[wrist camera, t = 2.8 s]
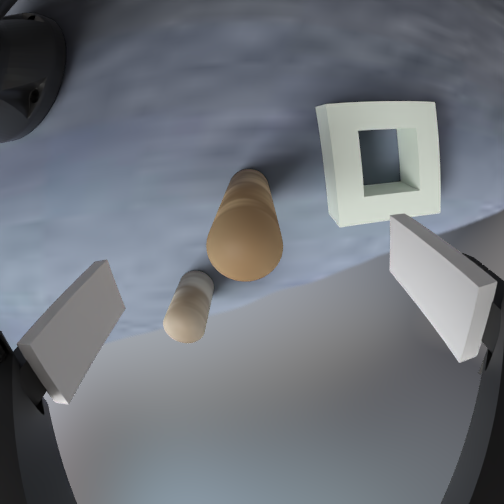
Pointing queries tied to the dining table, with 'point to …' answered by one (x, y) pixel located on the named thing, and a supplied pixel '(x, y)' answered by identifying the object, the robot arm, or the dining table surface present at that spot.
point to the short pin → (189, 307)
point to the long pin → (245, 229)
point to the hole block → (350, 167)
